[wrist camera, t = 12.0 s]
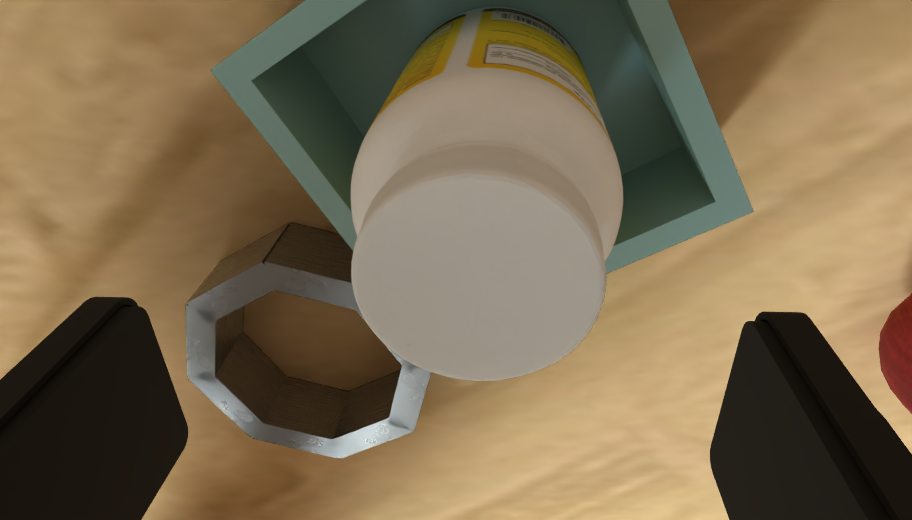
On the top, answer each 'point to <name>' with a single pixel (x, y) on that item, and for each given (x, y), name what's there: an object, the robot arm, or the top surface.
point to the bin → (402, 31)
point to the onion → (898, 352)
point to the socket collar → (260, 382)
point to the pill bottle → (485, 201)
